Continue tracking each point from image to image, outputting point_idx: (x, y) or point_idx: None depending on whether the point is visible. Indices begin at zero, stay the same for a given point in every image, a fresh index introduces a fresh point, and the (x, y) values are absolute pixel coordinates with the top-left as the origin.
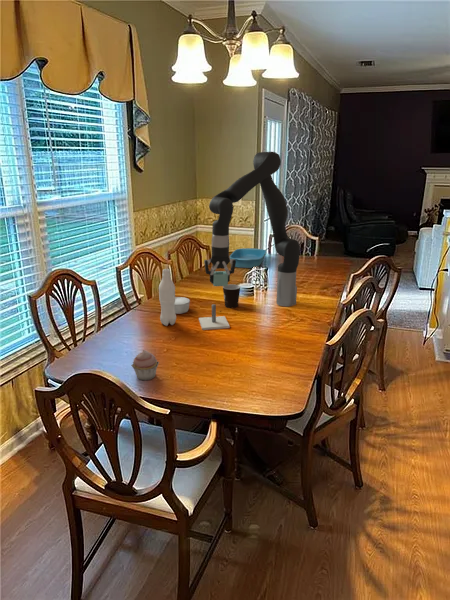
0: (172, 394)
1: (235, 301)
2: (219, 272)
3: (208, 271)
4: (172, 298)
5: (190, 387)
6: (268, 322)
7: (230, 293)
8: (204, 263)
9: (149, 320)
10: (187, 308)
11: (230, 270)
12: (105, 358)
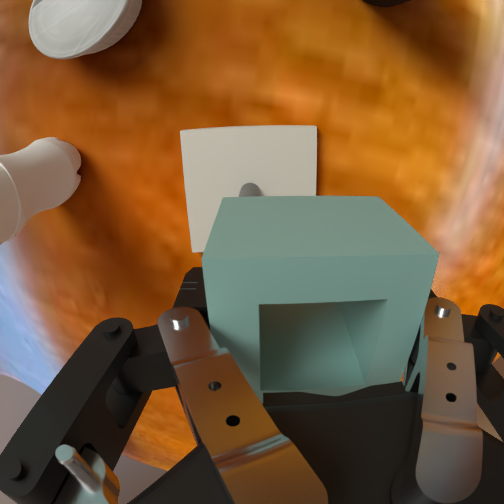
0: (154, 461)
1: (405, 1)
2: (328, 299)
3: (140, 405)
4: (6, 237)
5: (178, 458)
6: (470, 219)
7: None
8: (26, 437)
9: (6, 131)
10: (129, 22)
11: (473, 351)
12: (7, 351)
